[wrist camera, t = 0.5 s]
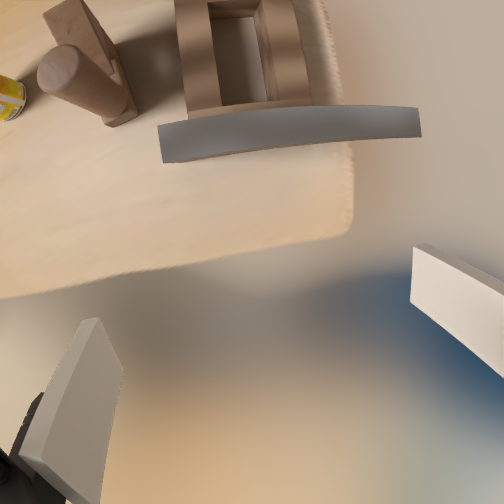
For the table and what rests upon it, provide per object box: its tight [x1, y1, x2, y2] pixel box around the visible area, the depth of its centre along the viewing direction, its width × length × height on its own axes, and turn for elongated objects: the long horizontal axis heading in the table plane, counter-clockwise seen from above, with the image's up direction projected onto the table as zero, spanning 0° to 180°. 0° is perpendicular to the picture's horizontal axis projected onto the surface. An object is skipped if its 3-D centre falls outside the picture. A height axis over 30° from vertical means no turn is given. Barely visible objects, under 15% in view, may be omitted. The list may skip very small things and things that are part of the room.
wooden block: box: [37, 0, 139, 128], centre depth 20 cm, size 4×11×18 cm, turn 20°
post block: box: [157, 0, 421, 163], centre depth 22 cm, size 21×16×20 cm
